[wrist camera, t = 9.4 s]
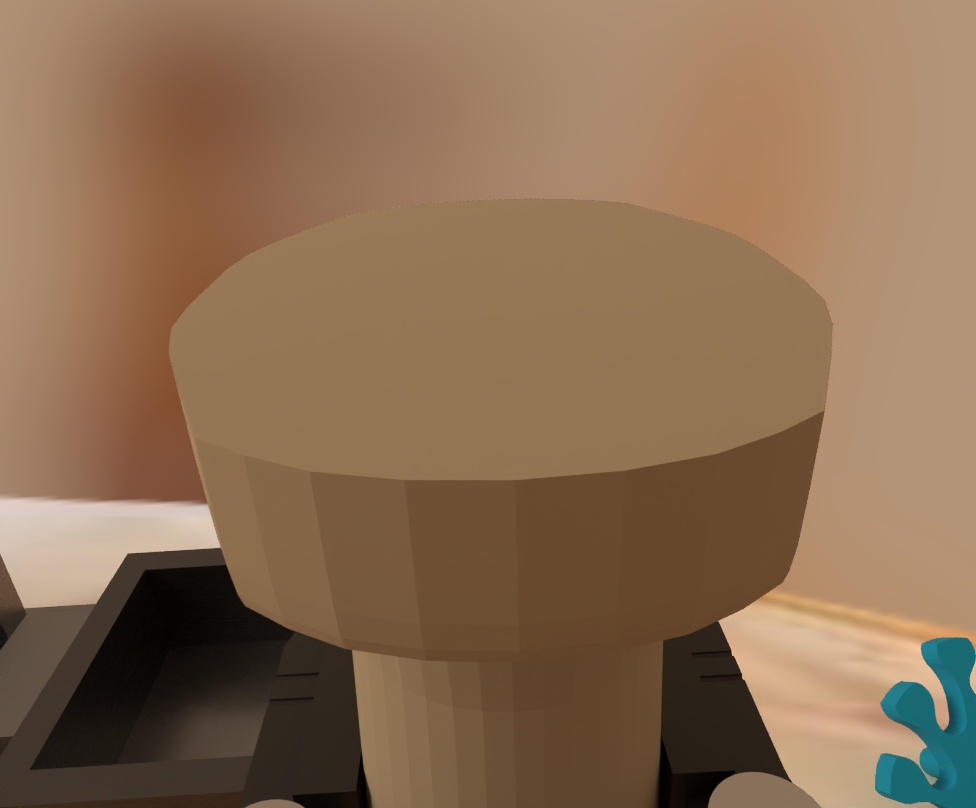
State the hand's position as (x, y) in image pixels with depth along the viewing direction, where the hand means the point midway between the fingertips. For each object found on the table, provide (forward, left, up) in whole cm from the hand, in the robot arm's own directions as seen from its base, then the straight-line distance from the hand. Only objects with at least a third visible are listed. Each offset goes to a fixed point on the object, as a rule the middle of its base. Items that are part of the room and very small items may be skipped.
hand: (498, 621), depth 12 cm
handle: (-3, 0, -9) cm, 9 cm away
